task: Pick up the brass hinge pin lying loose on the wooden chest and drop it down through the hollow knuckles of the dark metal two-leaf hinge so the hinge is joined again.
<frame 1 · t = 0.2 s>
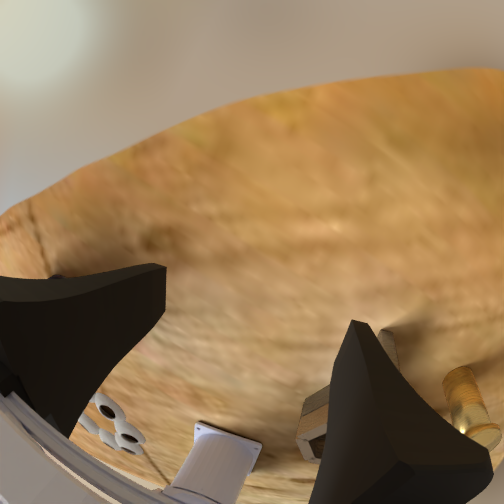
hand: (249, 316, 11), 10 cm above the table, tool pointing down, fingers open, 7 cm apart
hinge pin: (457, 379, 19), on the table
ring: (100, 414, 39), on the table
hinge: (344, 409, 23), on the table
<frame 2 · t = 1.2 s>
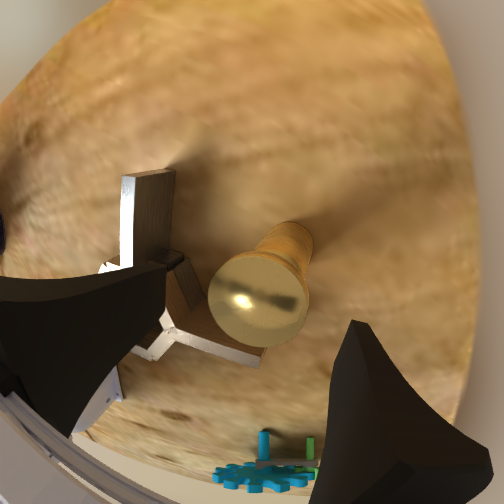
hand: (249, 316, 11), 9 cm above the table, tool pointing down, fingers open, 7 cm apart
hinge pin: (289, 245, 19), on the table
gear: (278, 446, 26), on the table
hinge: (162, 288, 23), on the table
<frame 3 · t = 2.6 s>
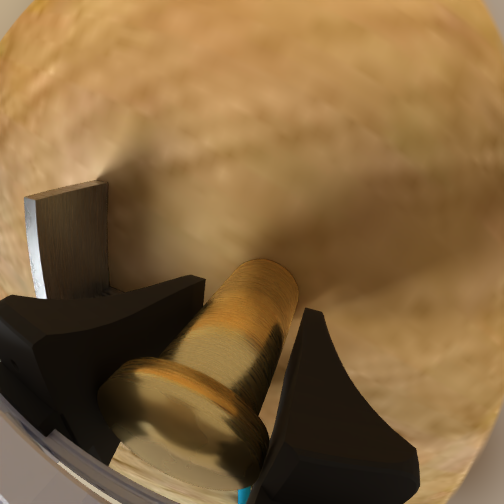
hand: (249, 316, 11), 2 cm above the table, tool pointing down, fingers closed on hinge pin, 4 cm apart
hinge pin: (263, 292, 12), on the table, touching gripper
gear: (261, 497, 20), on the table
hinge: (108, 331, 17), on the table
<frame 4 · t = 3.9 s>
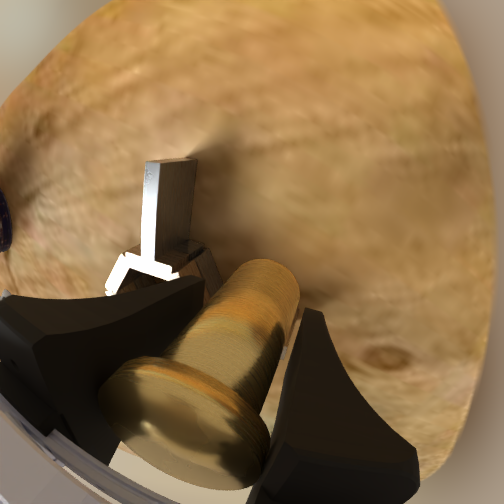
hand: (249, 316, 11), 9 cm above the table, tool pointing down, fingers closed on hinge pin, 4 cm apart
hinge pin: (264, 292, 12), point 7 cm above the table, touching gripper
hinge: (180, 280, 23), on the table
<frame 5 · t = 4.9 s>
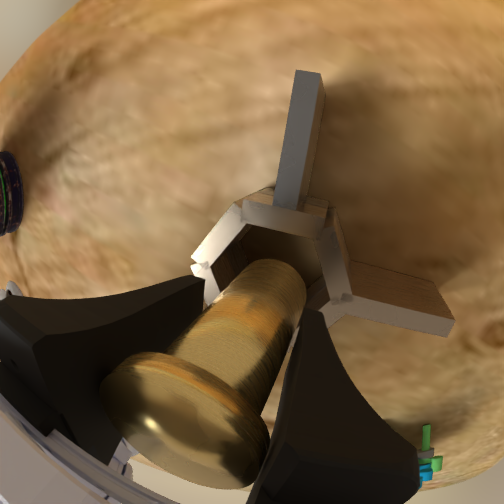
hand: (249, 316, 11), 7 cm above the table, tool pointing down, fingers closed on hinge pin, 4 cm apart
hinge pin: (271, 292, 12), point 5 cm above the table, touching gripper
gear: (382, 441, 21), on the table
storage jar: (7, 191, 25), on the table
hinge: (286, 251, 17), on the table
when the fingers open (7 cm above the table, at t = 5.3 s): hinge pin drops 5 cm, resting in hinge.
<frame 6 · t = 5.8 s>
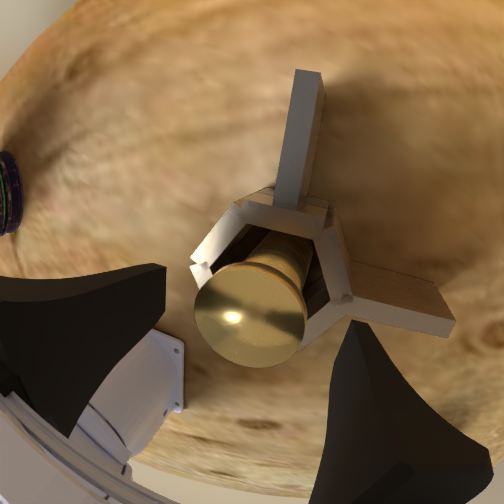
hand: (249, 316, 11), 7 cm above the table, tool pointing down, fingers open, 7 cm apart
hinge pin: (287, 251, 17), resting in hinge
storage jar: (7, 191, 25), on the table
hinge: (286, 252, 17), on the table
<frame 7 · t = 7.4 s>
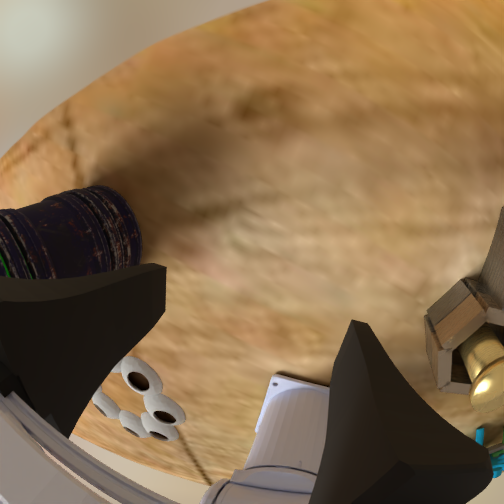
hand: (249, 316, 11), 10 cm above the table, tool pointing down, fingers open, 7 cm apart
hinge pin: (465, 321, 18), resting in hinge
gear: (474, 441, 21), on the table
storage jar: (104, 235, 25), on the table
ring: (123, 390, 34), on the table
hinge: (464, 322, 18), on the table
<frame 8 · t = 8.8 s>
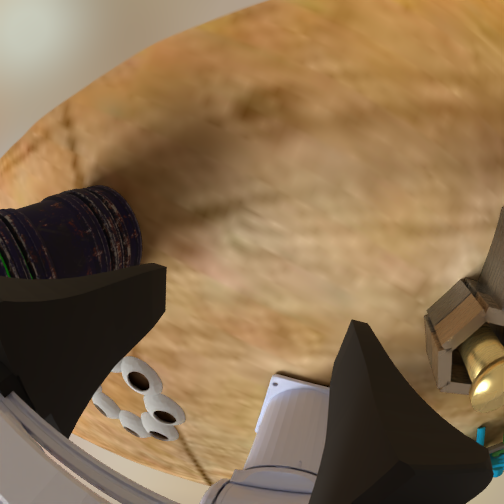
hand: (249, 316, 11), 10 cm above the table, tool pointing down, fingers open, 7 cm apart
hinge pin: (465, 321, 18), resting in hinge
gear: (474, 440, 21), on the table
storage jar: (104, 235, 25), on the table
ring: (123, 390, 34), on the table
hinge: (464, 322, 18), on the table
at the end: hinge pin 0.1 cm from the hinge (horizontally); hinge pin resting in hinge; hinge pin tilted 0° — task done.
